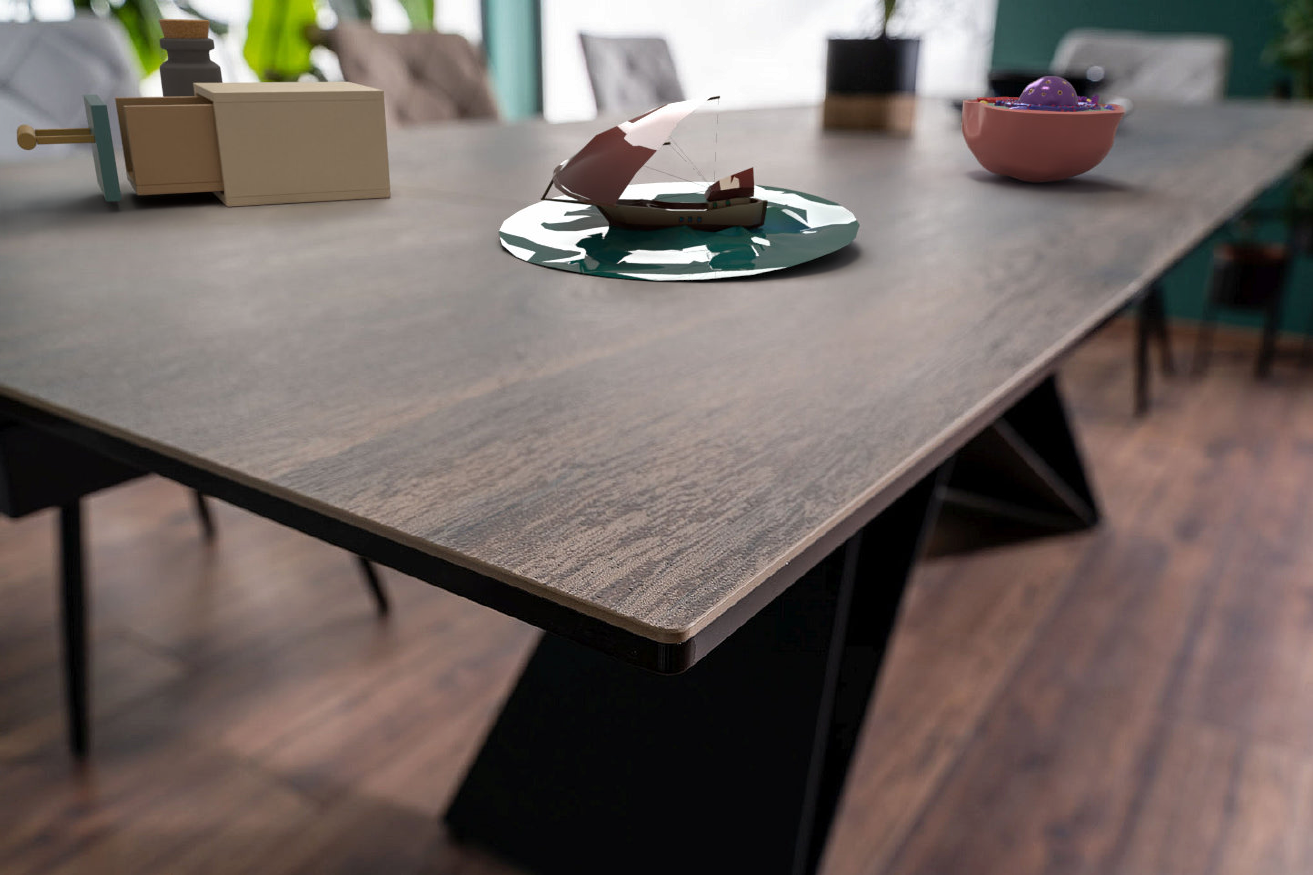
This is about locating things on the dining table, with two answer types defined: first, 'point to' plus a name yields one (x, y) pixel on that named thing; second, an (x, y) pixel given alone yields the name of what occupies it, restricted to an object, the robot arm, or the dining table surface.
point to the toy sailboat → (669, 215)
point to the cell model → (1040, 131)
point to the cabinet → (299, 141)
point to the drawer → (146, 144)
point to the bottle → (186, 56)
